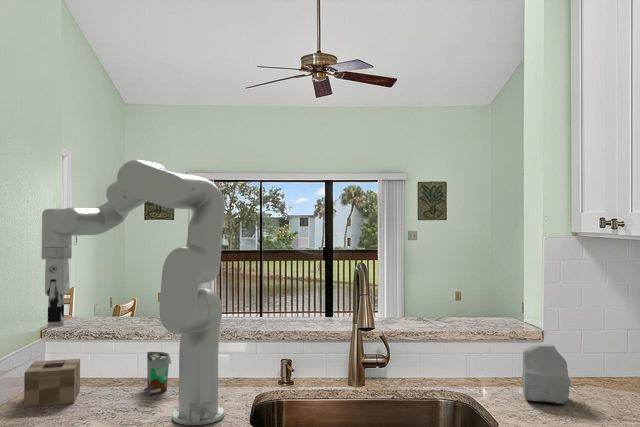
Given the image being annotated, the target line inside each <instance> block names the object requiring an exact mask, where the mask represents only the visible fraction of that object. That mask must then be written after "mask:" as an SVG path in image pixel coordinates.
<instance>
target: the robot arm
mask: <svg viewBox="0 0 640 427" xmlns="http://www.w3.org/2000/svg"><path fill="white" fill-rule="evenodd" d="M105 195H106V199H107V202H105V203H103V204H101V205H99V206H97V207H95V208H93V207H67V208H45V209H44V210H43V211H42V213H41V255H40V256H41V260H45V267H44V268H45V270H44V294H45V295H46V296H47V297H48V303H47V304H48V305H47V321H48V322H60V321H61V315H62V317H63V319H64V317H65V304H64V302H65V299H64V298H65V297H64V296H66V295H67V294H68V293H69V292H70V265H69V260H71V259H72V252H73V248H72V247H73V246H72V245H73V236H74V237H75V236H98V235H101V234H104V233H106V232H108V231H110V230H111V229H114V228H115V227H117V226H119V225H121V224H122V223H123V222H124V221H125V220H126V218H127V216H128V215H129V213H130V212H132V211H134V210H135V209H136V208H138V207H141V205H144V204H146V203H147V202H149V203H152V204H154V205H157V206H161V207H164V208H167V209H177V210H181V209H182V210H191V211H193V214H192V216H191V218H190V220H189V222H188V227H187V238H186V245H185V246H181V247H176V248H174V249H173V250H171V251H170V252H169V254H168V255H167V256H166V258H165V260H164V263H163V264H162V265H163V266H162V271H161V282H160V295H159V319H160V322H161V324H162V326H163V327H164V329H165V330H166V331H167V332H169V333H171V334H175V335H180V338H179V347H178V349H179V350H178V352H179V354H178V355H179V356H178V408H177V409H175V410H174V411H173V412H172V414H171V418H172V421H174V422H175V423H177V424H179V425H184V426H202V425H203V426H204V425H209V424H214V423H216V422H218V421H220V420H222V419H223V418H224V416H225V409H224V408H222V407H221V406H220V405H219V347H220V346H219V344H220V343H219V340H220V329H221V323H222V317H223V304H222V301H221V298H220V297H219V295H218V294H217V293H216V292H215V291H213V290H211V289H209V288H204V287H202V288H199V285H204V284H207V283H211V282H213V281H214V280H216V279H217V277H218V275H219V273H220V269H221V259H222V258H221V257H222V246H223V229H224V219H225V213H226V212H225V211H226V204H225V197H224V195H223V193H222V191H221V189H220V188H219V187H218V186H217V185H216V184H215V183H214V182H212V181H211V180H209V179H206V178H205V177H201V176H198V175H193V174H184V173H176V172H172V171H168V169H167V168H166V166H164V165H162V164H160V163H156V162H153V161H148V160H147V161H146V160H143V159H141V160H140V159H132V160H129V161H127V162H125V163H123V165H122V164H121V167H120V168H119V169H118V172H117V176H116V181H114V182H112V183H111V184H110V185H108V187H107V188H106V194H105ZM60 297H61V299H62V300H63V301H62V302H61V307H60ZM48 322H47V323H48Z"/></svg>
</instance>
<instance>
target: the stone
mask: <svg viewBox="0 0 640 427" xmlns="http://www.w3.org/2000/svg"><path fill="white" fill-rule="evenodd" d="M571 385H572V381H571V379H570V376H569V369H568V364H567V360H566V359H565V358H564V357H563V356H562V355H561V353H559V351H558V350H557V348H556V347H555V344H551V343H549V344H546V343H536V344H534V345H531V346H528V347H526V348H524V349H523V350H522V390H523V395H524V398H525V401H528V402H530V401H531V402H539V403H547V404H549V403H550V404H559V405H560V404H561V405H564V404H566V402H567V401H568V400H569V396H570V388H571Z"/></svg>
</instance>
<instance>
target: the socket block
mask: <svg viewBox="0 0 640 427" xmlns="http://www.w3.org/2000/svg"><path fill="white" fill-rule="evenodd" d="M23 375H24V376H23V378H24V379H23V381H24V383H23V384H24V386H23V388H24V390H23V394H24V395H23V408H30V407H32V408H33V407H34V408H35V407H42V406H55V405H68V404H74V403H75V402H76V400H77V398H78V395H79V394H80V390H81V358H71V359H70V358H69V359H55V360H54V359H53V360H38V361H33V362H32V363H31V364H30V366H28V367H27V369H26V370H25V371H24V374H23Z"/></svg>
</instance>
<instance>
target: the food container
mask: <svg viewBox="0 0 640 427" xmlns="http://www.w3.org/2000/svg"><path fill="white" fill-rule="evenodd" d="M146 353H147V355H146V359H147V362H146V363H147V364H146V365H147V366H146V367H147V368H146V370H147V371H146V372H147V377H146V378H147V380H146V383H147V385H146V386H147V391H148V390H149V391H148V394H149V396H150V397H153V395H154V396H159V395H161V394H164V393H165V392H167V390H168V377H169V365H170V364H171V363H172V359H171V355H170V354H169V353H167V352H165V351H164V352H162V351H146ZM158 394H159V395H158Z"/></svg>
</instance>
